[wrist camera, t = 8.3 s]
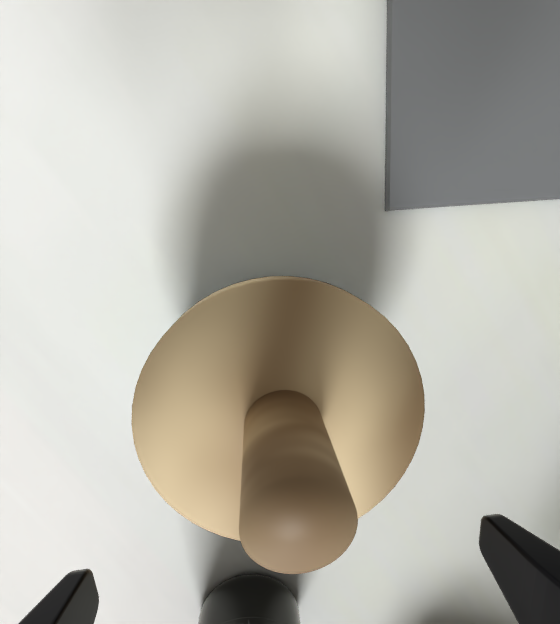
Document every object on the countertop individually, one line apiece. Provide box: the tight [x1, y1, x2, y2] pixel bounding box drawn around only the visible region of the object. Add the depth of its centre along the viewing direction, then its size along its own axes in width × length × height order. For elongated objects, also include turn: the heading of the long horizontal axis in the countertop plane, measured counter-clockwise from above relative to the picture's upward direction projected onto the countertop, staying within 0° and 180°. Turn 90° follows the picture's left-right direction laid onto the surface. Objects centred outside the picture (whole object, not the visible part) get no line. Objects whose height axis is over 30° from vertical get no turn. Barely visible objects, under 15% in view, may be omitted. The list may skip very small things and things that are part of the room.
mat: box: [385, 0, 560, 211], centre depth 16 cm, size 11×11×1 cm
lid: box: [132, 276, 425, 574], centre depth 11 cm, size 11×11×6 cm
